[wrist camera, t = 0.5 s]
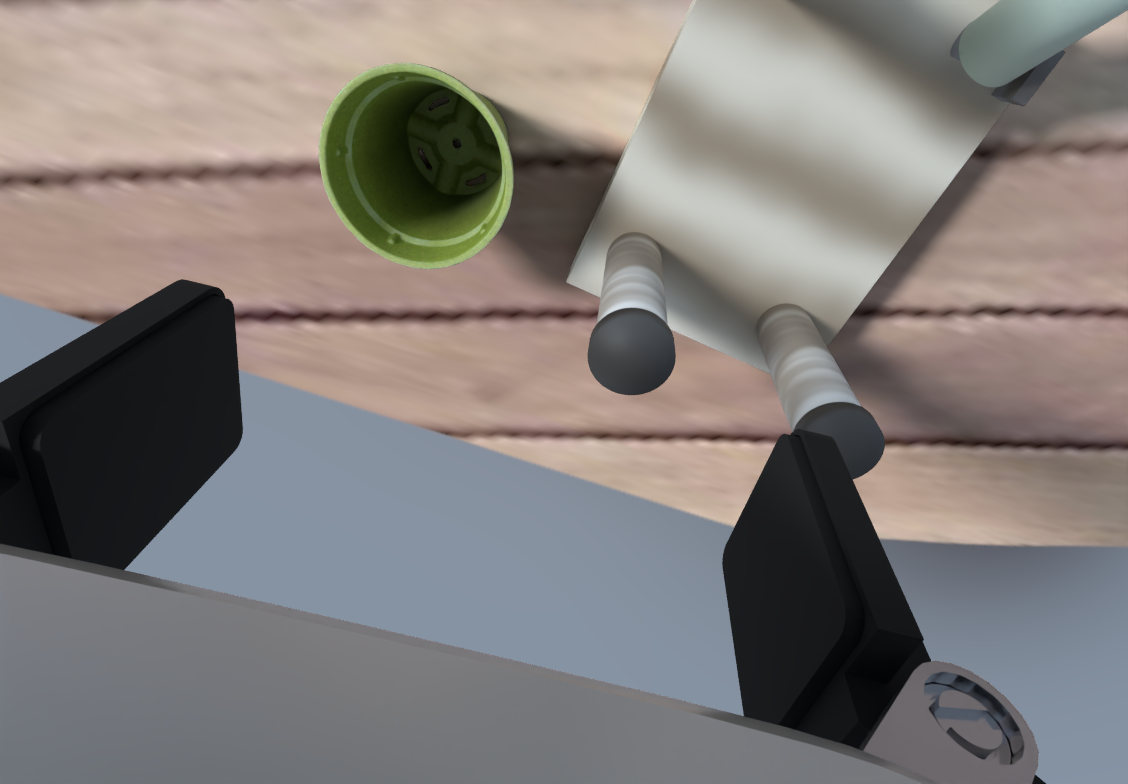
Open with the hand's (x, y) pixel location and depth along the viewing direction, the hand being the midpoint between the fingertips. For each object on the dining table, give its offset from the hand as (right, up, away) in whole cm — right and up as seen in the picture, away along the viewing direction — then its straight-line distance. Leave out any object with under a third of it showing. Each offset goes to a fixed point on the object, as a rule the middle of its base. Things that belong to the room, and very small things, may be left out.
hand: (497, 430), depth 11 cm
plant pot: (-5, +15, +27) cm, 31 cm away
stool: (+13, +14, +25) cm, 32 cm away
